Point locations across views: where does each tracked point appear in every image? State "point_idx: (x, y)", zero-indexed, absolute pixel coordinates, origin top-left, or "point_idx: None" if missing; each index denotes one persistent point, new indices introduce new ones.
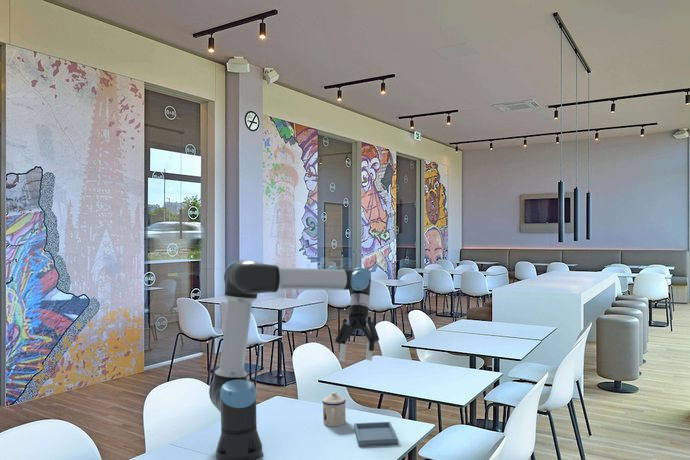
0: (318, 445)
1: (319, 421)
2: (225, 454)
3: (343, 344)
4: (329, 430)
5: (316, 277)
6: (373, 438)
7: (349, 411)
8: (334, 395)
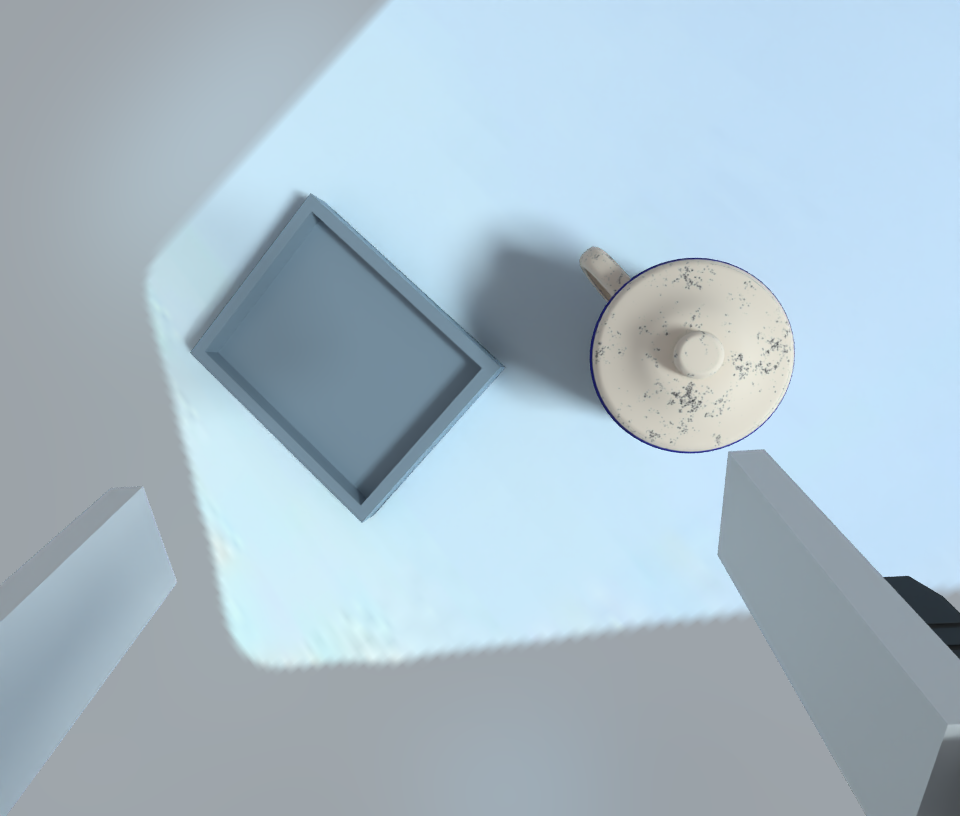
0: (488, 55)
1: None
2: None
3: (915, 774)
4: None
5: None
6: (318, 313)
7: None
8: (678, 343)
